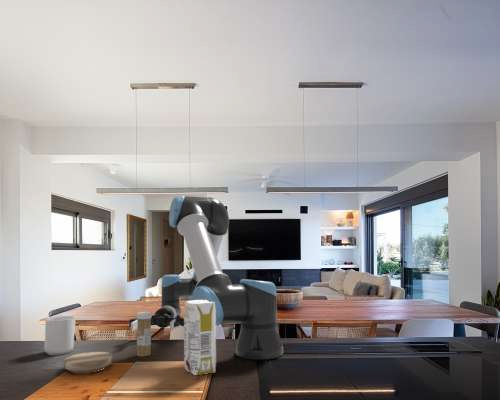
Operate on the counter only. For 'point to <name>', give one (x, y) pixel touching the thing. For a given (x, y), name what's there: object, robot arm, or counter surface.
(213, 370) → the juice carton
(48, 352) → the mug
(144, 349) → the spice jar
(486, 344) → the counter surface
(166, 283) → the robot arm
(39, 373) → the counter surface
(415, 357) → the counter surface
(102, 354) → the disc
